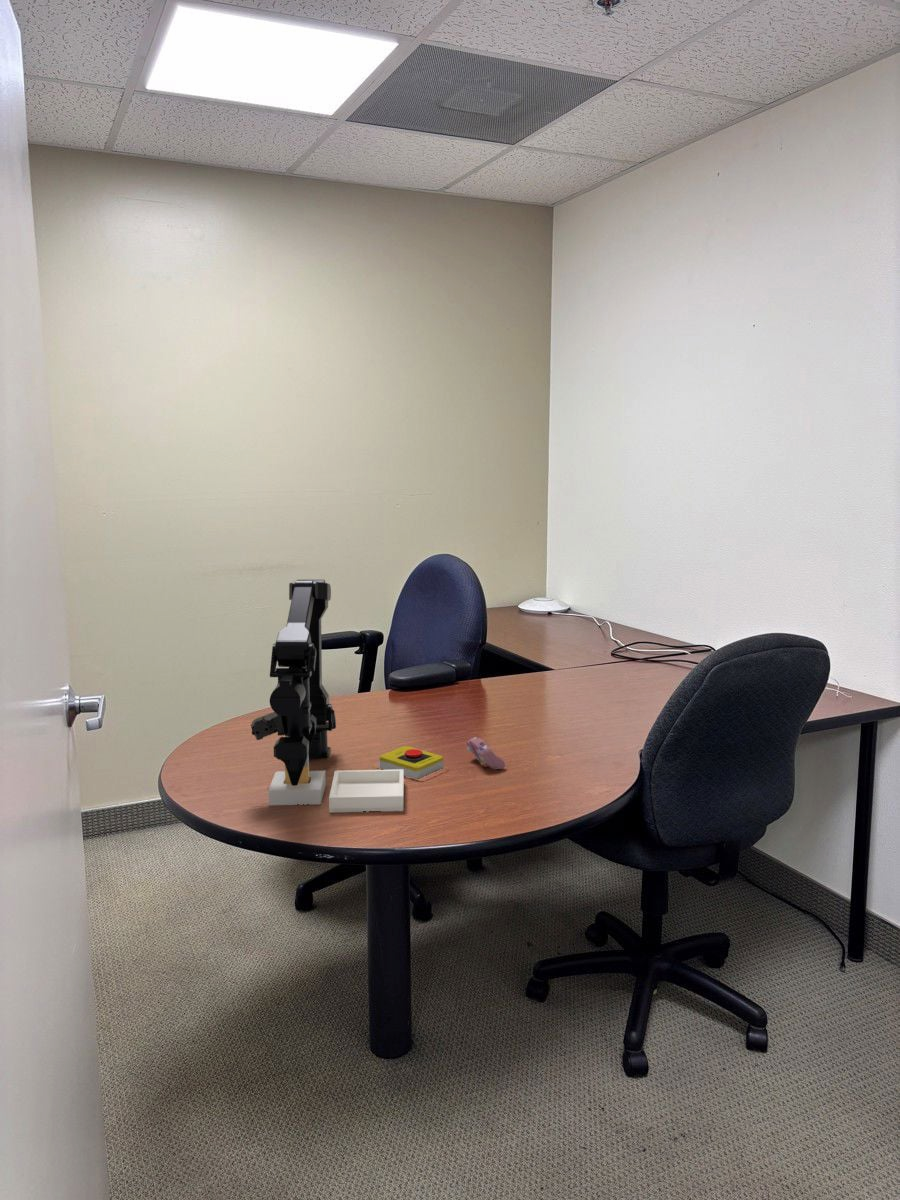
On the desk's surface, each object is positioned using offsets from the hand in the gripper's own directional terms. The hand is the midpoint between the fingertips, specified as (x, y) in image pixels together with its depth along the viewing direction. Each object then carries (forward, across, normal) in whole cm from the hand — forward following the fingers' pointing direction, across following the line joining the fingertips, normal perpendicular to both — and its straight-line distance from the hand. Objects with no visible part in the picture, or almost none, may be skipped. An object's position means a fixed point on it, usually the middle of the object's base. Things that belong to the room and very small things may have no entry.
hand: (297, 776), depth 174 cm
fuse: (+4, 0, 0) cm, 4 cm away
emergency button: (+5, -14, +22) cm, 27 cm away
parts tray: (+4, +2, +14) cm, 15 cm away
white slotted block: (+4, 0, 0) cm, 4 cm away
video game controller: (+4, -15, +39) cm, 42 cm away
